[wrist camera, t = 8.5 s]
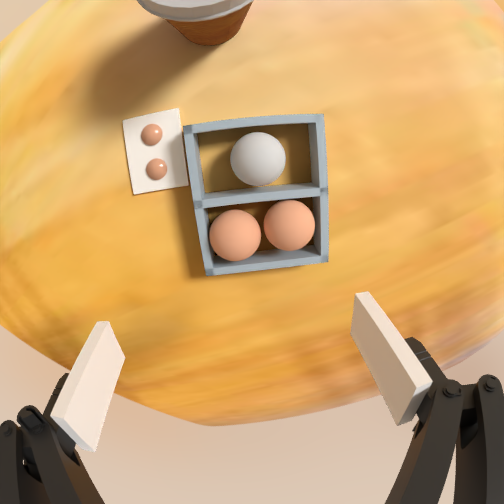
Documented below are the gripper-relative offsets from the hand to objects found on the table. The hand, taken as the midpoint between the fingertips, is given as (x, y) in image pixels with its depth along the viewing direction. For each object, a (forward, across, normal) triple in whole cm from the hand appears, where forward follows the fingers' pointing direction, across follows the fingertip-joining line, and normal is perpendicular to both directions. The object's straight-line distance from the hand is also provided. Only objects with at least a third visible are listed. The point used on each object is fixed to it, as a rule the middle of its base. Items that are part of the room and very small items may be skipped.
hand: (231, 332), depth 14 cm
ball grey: (+17, +3, +7) cm, 19 cm away
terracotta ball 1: (+17, +1, 0) cm, 17 cm away
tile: (+18, -7, +9) cm, 21 cm away
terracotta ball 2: (+17, +5, 0) cm, 18 cm away
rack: (+17, +3, +3) cm, 18 cm away
